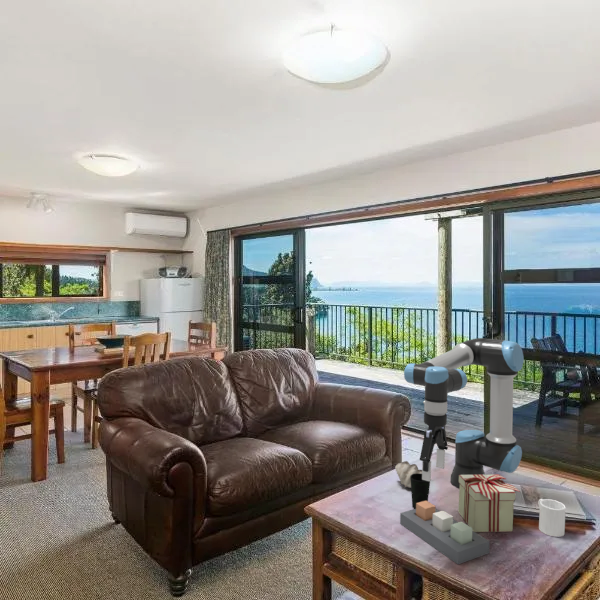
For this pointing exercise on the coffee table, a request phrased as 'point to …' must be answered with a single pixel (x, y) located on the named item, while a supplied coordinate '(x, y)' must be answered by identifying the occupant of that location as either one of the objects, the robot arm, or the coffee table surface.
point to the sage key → (461, 533)
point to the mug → (551, 517)
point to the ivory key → (442, 521)
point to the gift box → (486, 502)
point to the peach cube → (425, 510)
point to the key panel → (444, 538)
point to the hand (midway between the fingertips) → (433, 473)
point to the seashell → (406, 472)
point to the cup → (419, 489)
